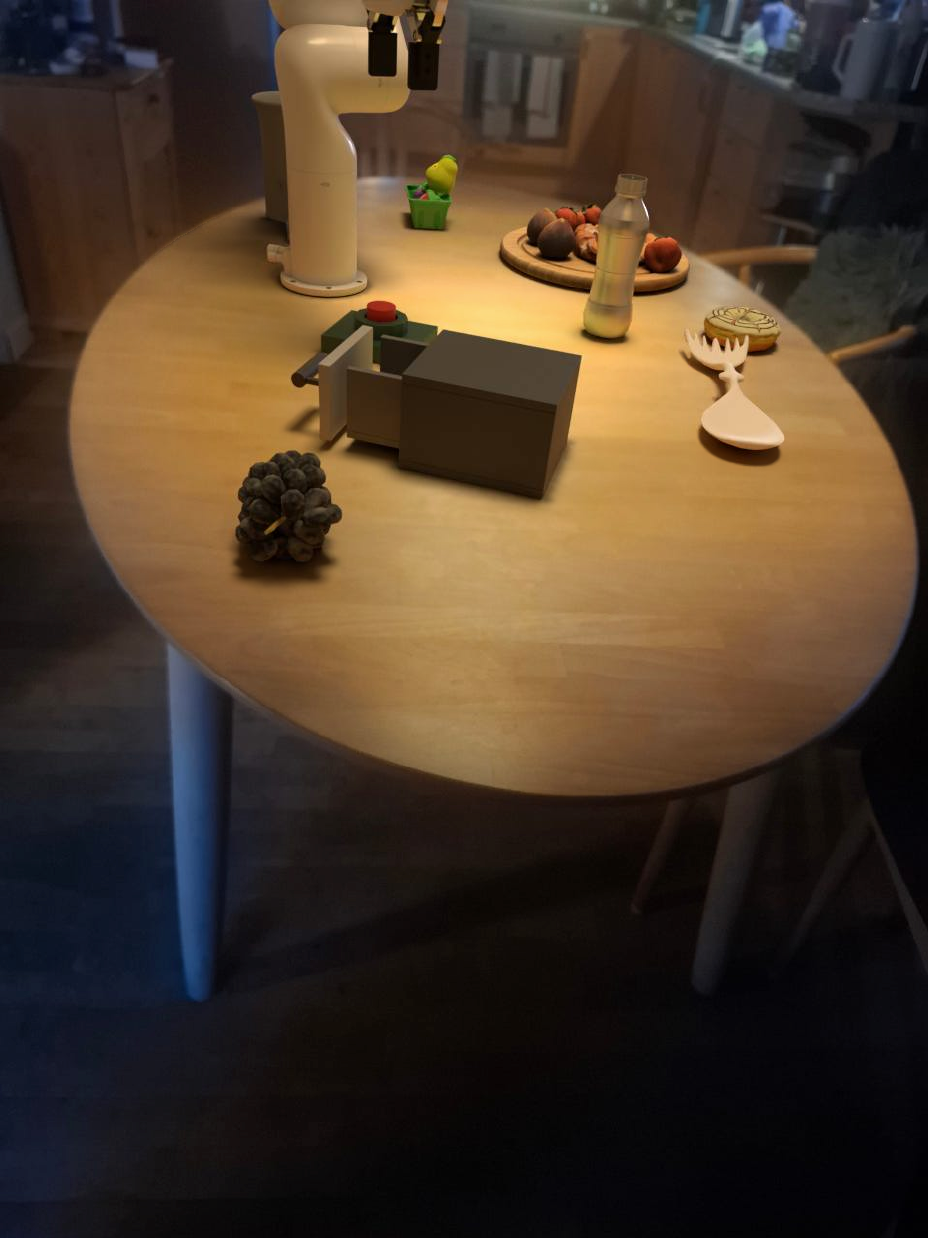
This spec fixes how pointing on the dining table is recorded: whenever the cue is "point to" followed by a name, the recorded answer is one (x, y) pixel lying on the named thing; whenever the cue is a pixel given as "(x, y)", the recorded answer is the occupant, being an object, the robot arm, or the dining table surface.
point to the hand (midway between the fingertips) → (401, 82)
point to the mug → (273, 155)
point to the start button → (381, 311)
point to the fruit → (285, 507)
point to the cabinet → (487, 411)
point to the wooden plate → (585, 251)
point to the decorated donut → (742, 327)
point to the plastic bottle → (617, 259)
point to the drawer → (361, 386)
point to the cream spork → (733, 400)
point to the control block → (376, 331)
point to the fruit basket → (433, 195)
